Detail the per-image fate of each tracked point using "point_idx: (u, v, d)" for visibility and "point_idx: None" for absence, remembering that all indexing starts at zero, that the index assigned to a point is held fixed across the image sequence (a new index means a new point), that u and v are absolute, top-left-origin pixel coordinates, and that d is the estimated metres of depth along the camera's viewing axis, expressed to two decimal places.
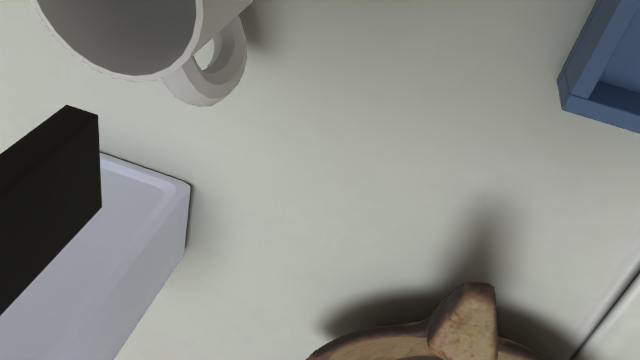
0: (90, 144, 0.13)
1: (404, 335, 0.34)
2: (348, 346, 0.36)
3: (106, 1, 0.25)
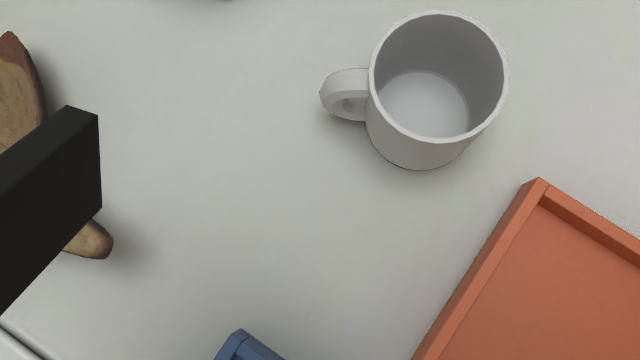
0: (90, 144, 0.13)
1: None
2: (32, 92, 0.36)
3: (417, 42, 0.34)
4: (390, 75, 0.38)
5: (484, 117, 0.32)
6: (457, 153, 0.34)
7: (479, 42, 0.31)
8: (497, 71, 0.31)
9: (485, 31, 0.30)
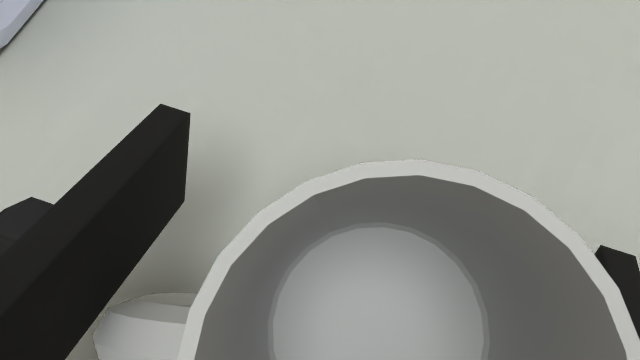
0: (182, 141, 0.13)
1: None
2: None
3: (364, 204, 0.13)
4: (314, 239, 0.17)
5: None
6: None
7: (536, 248, 0.10)
8: (594, 349, 0.10)
9: (567, 241, 0.09)
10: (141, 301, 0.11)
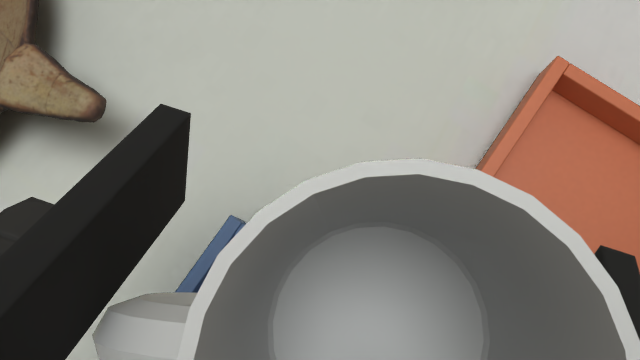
0: (183, 141, 0.13)
1: (26, 23, 0.33)
2: None
3: (363, 203, 0.13)
4: (314, 238, 0.17)
5: None
6: None
7: (536, 246, 0.10)
8: (594, 348, 0.10)
9: (566, 240, 0.09)
10: (141, 300, 0.11)
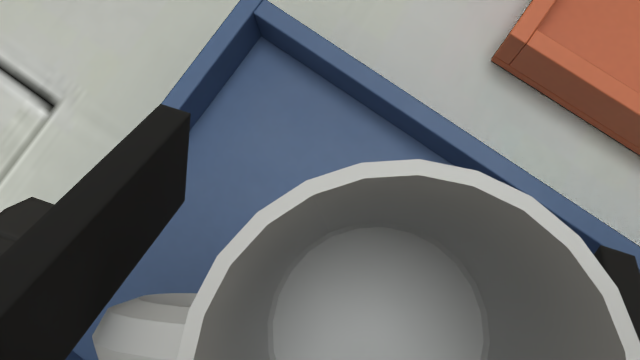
0: (183, 141, 0.13)
1: None
2: None
3: (363, 204, 0.13)
4: (314, 239, 0.17)
5: None
6: None
7: (535, 247, 0.10)
8: (593, 349, 0.10)
9: (566, 241, 0.09)
10: (140, 301, 0.11)
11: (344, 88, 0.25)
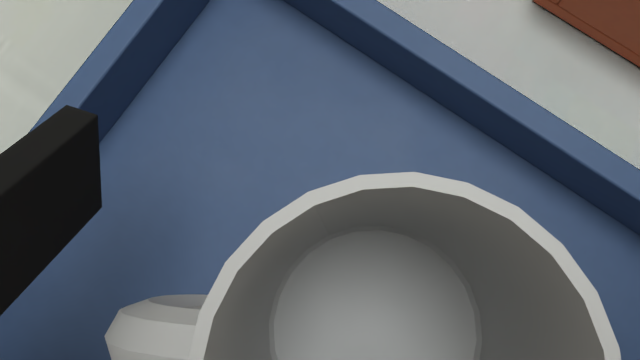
0: (90, 144, 0.13)
1: None
2: None
3: (361, 210, 0.13)
4: (314, 242, 0.18)
5: None
6: None
7: (523, 253, 0.11)
8: (576, 348, 0.10)
9: (550, 248, 0.10)
10: (151, 303, 0.12)
11: (342, 33, 0.19)
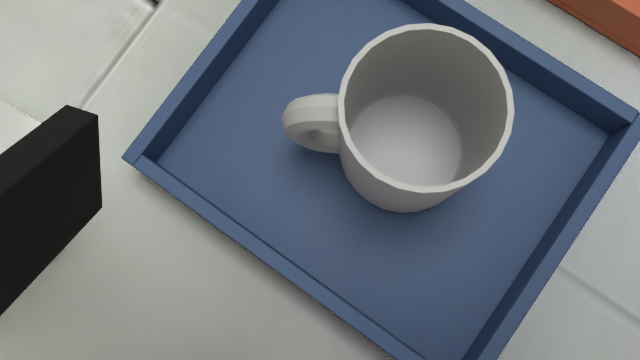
0: (90, 144, 0.13)
1: None
2: None
3: (401, 61, 0.28)
4: (370, 98, 0.32)
5: (481, 156, 0.26)
6: None
7: (476, 64, 0.25)
8: (498, 101, 0.25)
9: (485, 52, 0.24)
10: None
11: None
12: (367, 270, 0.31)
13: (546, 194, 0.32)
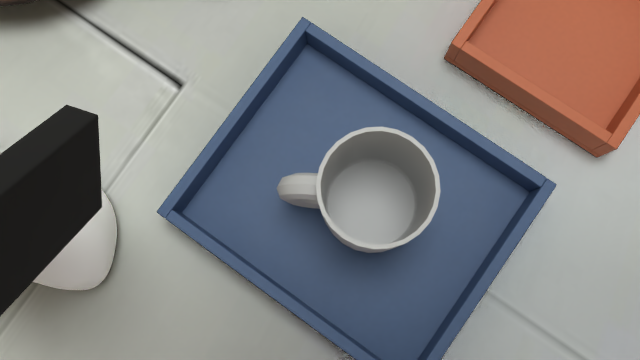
0: (90, 144, 0.13)
1: None
2: None
3: (366, 144, 0.37)
4: (345, 164, 0.41)
5: (422, 217, 0.36)
6: None
7: (417, 153, 0.35)
8: (431, 181, 0.34)
9: (420, 148, 0.33)
10: (295, 173, 0.36)
11: (357, 74, 0.43)
12: (343, 296, 0.41)
13: (480, 238, 0.41)
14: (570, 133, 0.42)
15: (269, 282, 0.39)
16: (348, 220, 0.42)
